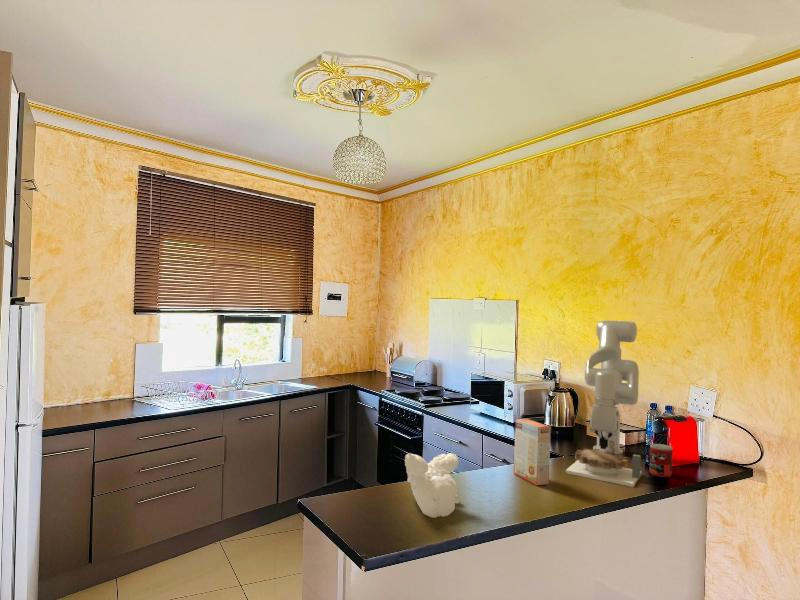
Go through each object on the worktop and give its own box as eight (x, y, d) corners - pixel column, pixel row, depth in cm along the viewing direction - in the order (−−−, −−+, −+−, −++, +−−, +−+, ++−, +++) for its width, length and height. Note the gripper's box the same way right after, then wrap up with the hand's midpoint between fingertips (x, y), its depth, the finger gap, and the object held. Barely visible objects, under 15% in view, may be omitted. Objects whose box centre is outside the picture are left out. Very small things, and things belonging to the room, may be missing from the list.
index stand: (578, 462, 210) (579, 439, 210) (643, 474, 196) (644, 450, 196) (565, 473, 194) (566, 449, 194) (635, 487, 180) (636, 461, 180)
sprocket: (613, 455, 206) (613, 437, 206) (638, 469, 187) (638, 449, 187) (567, 454, 205) (568, 435, 205) (588, 468, 186) (588, 448, 186)
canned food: (644, 471, 200) (645, 444, 200) (660, 470, 202) (661, 443, 203) (660, 478, 193) (660, 449, 193) (676, 476, 195) (677, 448, 195)
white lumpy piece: (434, 495, 139) (405, 442, 154) (409, 542, 147) (384, 487, 162) (486, 489, 149) (454, 439, 164) (459, 533, 157) (431, 482, 172)
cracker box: (550, 485, 179) (551, 426, 180) (536, 486, 177) (537, 427, 178) (526, 472, 192) (528, 418, 193) (513, 474, 190) (514, 418, 191)
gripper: (626, 403, 200) (625, 449, 200) (588, 398, 209) (586, 443, 208) (622, 406, 194) (621, 454, 194) (583, 401, 203) (581, 446, 202)
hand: (603, 448), depth 201 cm, fingers closed
